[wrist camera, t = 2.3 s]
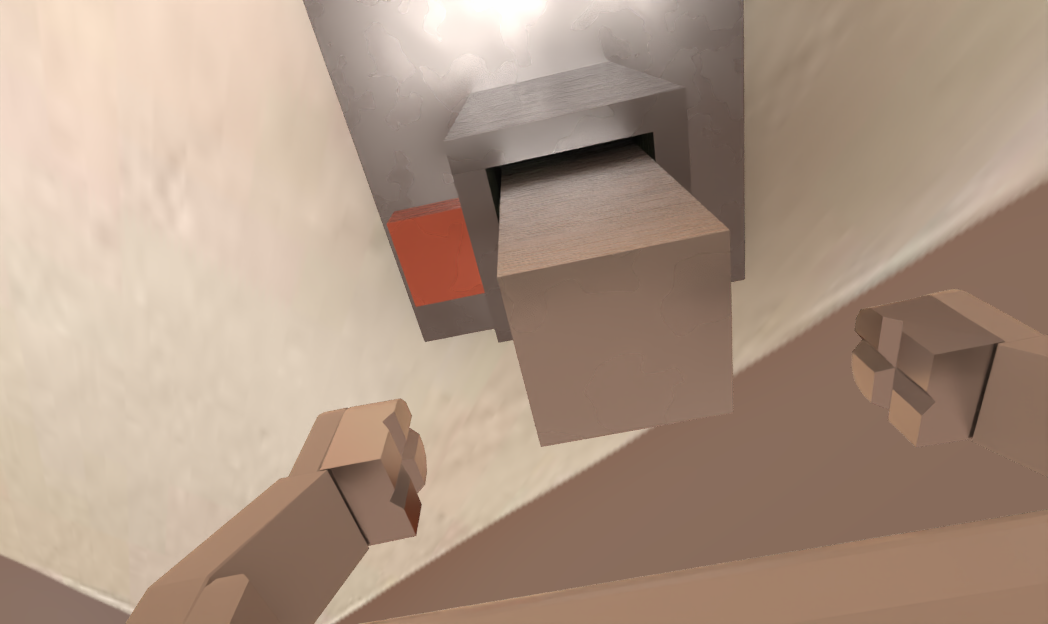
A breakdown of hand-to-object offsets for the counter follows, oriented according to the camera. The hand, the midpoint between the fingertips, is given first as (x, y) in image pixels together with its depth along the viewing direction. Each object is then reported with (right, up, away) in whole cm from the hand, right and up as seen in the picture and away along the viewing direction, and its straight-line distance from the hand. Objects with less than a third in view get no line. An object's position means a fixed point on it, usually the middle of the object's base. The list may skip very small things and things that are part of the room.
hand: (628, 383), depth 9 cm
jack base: (0, +11, +19) cm, 22 cm away
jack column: (0, +9, +17) cm, 19 cm away
